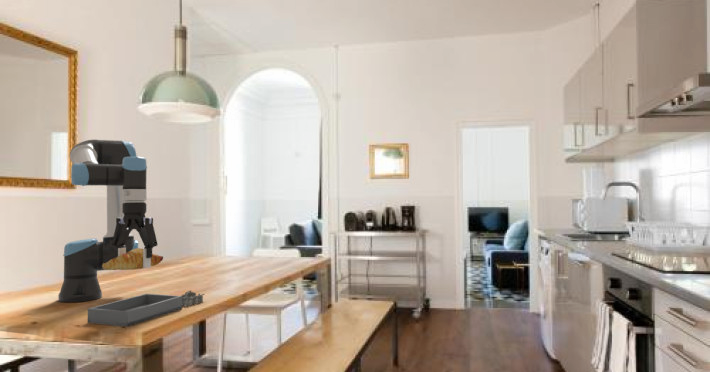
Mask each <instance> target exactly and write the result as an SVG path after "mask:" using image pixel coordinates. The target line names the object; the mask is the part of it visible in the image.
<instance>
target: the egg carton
mask: <svg viewBox="0 0 710 372" xmlns="http://www.w3.org/2000/svg"><path fill="white" fill-rule="evenodd" d="M181 296H182V307H189V306H192V305H196V304H198V303H203V302H204V296H205V293H201V294H200V293H198V295H197V293H196V292H195V291H192V290H191V289H190V290H188V291H186V292H185V293H183V294H182V295H181Z"/></svg>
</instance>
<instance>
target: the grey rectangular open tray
mask: <svg viewBox="0 0 710 372" xmlns="http://www.w3.org/2000/svg"><path fill="white" fill-rule="evenodd" d="M182 309H183V305H182V295H175V294H174V295H172V294H156V293H144V294H140V295H136V296H131V297H129V298H127V297H126V298H124V299H119V300H117V301H113V302H109V303H105V304H101V305H97V306H92V307H89V308H88V307H87V324H95V325H107V326H117V327H131V326H134V325H137V324H139V323H144V322H146V321H149V320H151V319H152V320H153V319H155V318H158V317H161V316H165V315H167V314H170V313H173V312H177V311H180V310H182Z"/></svg>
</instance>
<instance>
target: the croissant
mask: <svg viewBox="0 0 710 372" xmlns="http://www.w3.org/2000/svg"><path fill="white" fill-rule="evenodd" d="M143 249H144V248H140V247H138V248H136V249H133V250H131V251H129V252H127V253H125V254H121V255H119V256H118V257H116V258H114V259H111V260H109V261H108V262H107V263H103V265H102V267H103V269H105V270H104V271H118V270H119V271H131V270H132V271H133V270H143V269H144V268H143ZM163 260H164V256H162V255H158V254H154V253H152V258H151V267H155V266H157V265H159V264H161V262H162V261H163Z"/></svg>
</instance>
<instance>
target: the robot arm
mask: <svg viewBox="0 0 710 372" xmlns="http://www.w3.org/2000/svg"><path fill="white" fill-rule="evenodd" d="M136 152H137V151H136V148H135V145H134V144H133V142H130V141H126V140H111V139H110V140H108V139H107V140H106V139H88V140H87V139H86V140H84V141H81V142H79V143H77V144H75V145H74V146H73V147H72V148H71V150H70V152H69V159H70V162H71V164H72V165H71V168H70V169H71V170H70V175H71V176H70V179H71V184H72V185H73V186H82V187H84V186H106V234H104V236H103V237H102V241H98V239H97V238H86V239H79V240H74V241H70V242H67V243H66V244H65V245H64V248H63V249H64V250H63V251H64V252H63V255H62V256H63V281H62V284H61V288H60V291H59V293H58V298H57V299H58V302H62V303H78V302H87V301H93V300H94V301H95V300H98V299H100V298H102V297H103V296H102V295H103V291H102V289H101V286H100V283H99V280H98V272H99V271H106V270H105V269H103V267H102V265H103V263H107V262H108V261H109V260H111V259H114V258H116V257H118V256H119V255H121V254H125V253H127V252H129V251H131V250H133V249H136V248H139V240H137V239H135V235H134V234H132V233H131V232H132V231H133V230H135V231H136V232H138V235H139V237H140V239H141V241H142V243H143V245H144V247H143V248H142V249H143V269H149V268H152V266H151V258H152V254H153V248H154V247H157V246H158V240H157V236H156V233H155V232H156V231H155V227H154V219H153V217H146V214H147V169H148V166H147V159H146V158H145V157H142V156H137V153H136Z"/></svg>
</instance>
